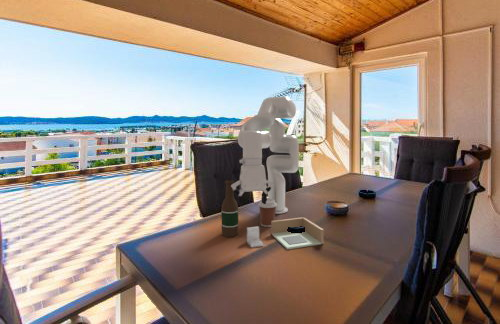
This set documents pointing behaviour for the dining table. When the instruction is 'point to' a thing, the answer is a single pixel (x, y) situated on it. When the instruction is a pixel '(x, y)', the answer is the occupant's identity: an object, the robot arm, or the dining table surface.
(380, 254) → the dining table surface
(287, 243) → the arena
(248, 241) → the bracket
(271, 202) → the coffee cup
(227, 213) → the beer bottle
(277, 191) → the robot arm
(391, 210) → the dining table surface
